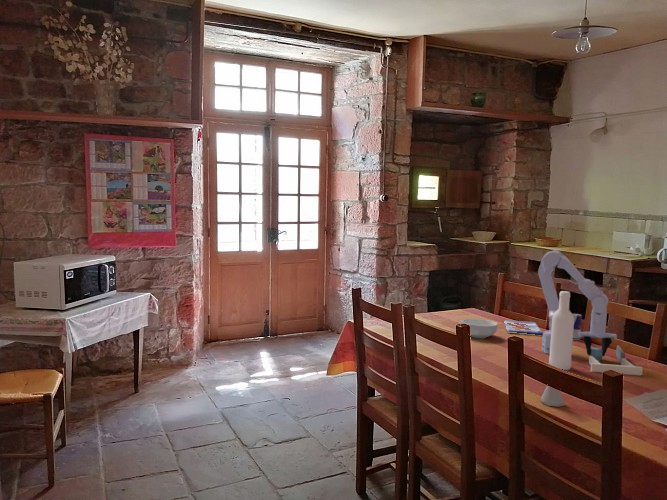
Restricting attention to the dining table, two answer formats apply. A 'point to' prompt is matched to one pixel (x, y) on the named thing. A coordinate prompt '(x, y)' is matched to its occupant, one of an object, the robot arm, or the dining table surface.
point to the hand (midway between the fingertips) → (595, 354)
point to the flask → (552, 397)
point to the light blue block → (596, 353)
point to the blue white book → (531, 326)
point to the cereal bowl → (480, 327)
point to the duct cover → (619, 353)
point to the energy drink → (577, 326)
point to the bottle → (562, 334)
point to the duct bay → (615, 367)
